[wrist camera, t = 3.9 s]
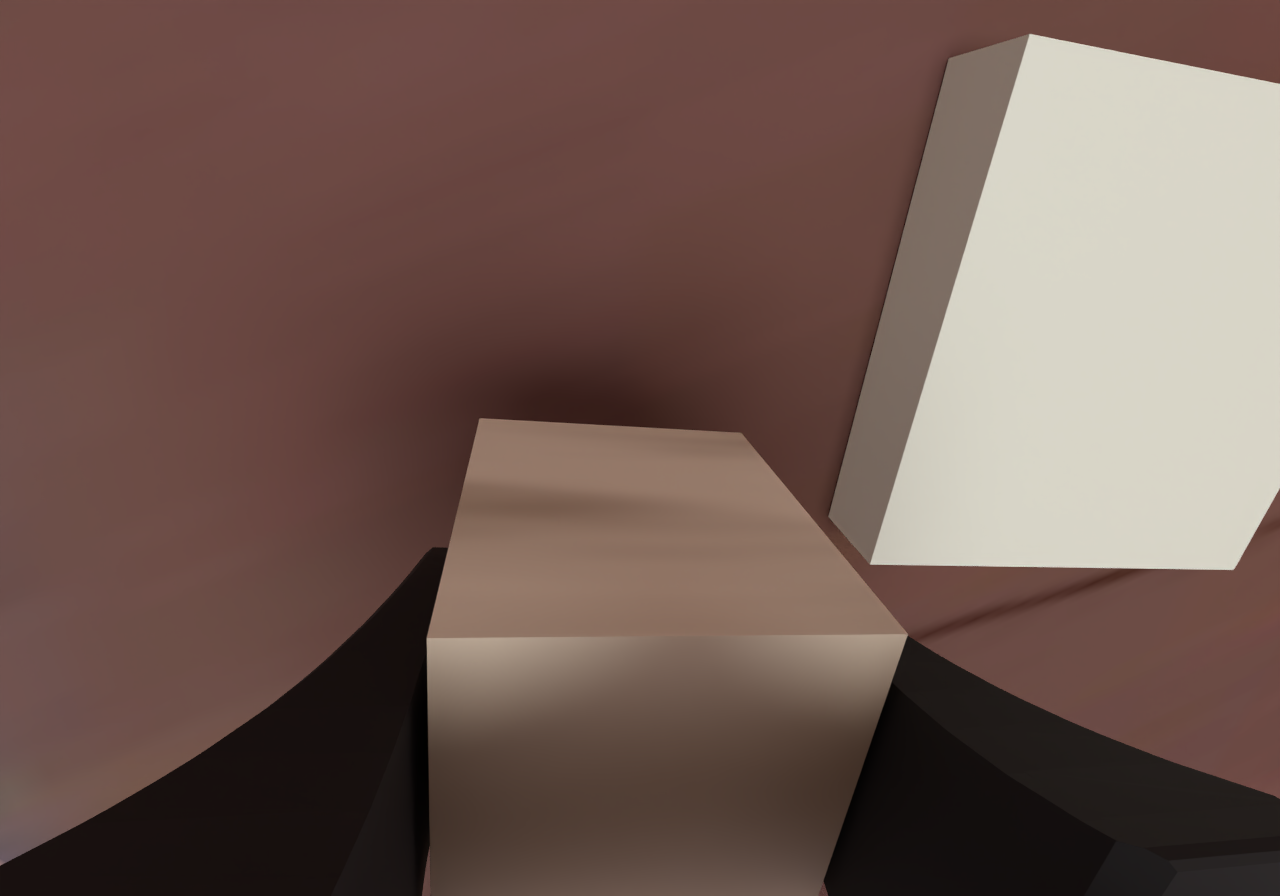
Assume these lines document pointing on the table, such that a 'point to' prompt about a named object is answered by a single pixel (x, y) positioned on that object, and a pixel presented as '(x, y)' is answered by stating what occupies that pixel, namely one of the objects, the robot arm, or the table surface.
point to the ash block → (643, 671)
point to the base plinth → (1077, 322)
